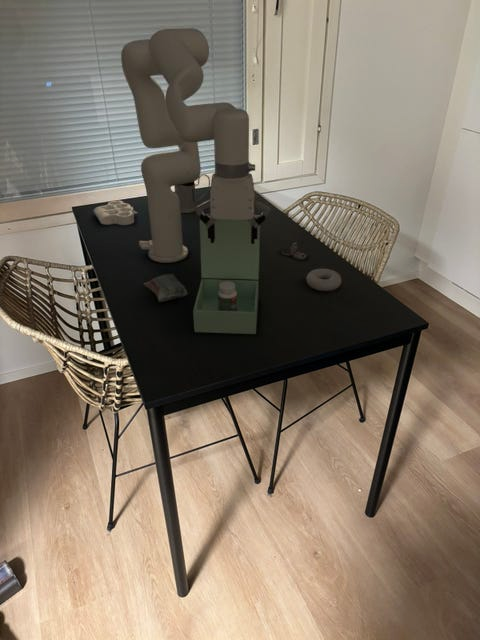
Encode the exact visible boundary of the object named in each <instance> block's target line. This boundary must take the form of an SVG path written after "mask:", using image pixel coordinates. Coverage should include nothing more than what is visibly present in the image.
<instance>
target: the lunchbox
mask: <svg viewBox="0 0 480 640" xmlns="http://www.w3.org/2000/svg"><path fill="white" fill-rule="evenodd" d="M225 281H229V282H233V283H234V284H235V291H236V292H237V311H218V310H219V309H218V292H219V284H220V283H222V282H225ZM259 284H260V283H259V280H250V279H217V278H201V280H200V284H199V287H198V291H197V295H196V299H195V302H194V306H193V310H192V318H193V331H194V333H210V334H211V333H212V334H213V333H214V334H238V335H239V334H241V335H242V334H243V335H256V334H257V326H258V325H257V324H258V307H259Z"/></svg>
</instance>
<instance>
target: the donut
mask: <svg viewBox="0 0 480 640" xmlns="http://www.w3.org/2000/svg"><path fill="white" fill-rule="evenodd" d="M305 280H306V283H307V285H308V286H309V287H310V288H311V289H313V290H316V291H319V292H331V291H335V290H337V289H338V288H339V287H341V284H342V276H341V275H340V274H339V272H337V271H335V270H333V269H329V268H315V269H313V270H311V271H309V272H308V273H307V275H306V278H305Z"/></svg>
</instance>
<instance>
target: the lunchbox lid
mask: <svg viewBox="0 0 480 640" xmlns="http://www.w3.org/2000/svg"><path fill="white" fill-rule="evenodd" d="M204 214H205V215H206V216H207V217H210V216H211V215H210V213H204ZM260 215H261V214H254V216H255V217H256V218H258V217H259V216H260ZM214 225H215V240H214V243H211V238H208V227H207V226H206V224H204V223H203V222H202V221H201V220H200V219H199V240H200V241H199V243H200V244H199V245H200V273H201V274H200V275H201V279H220V280H253V281H259V280H260V279H259V278H260V244H261V243H260V241H261V238H260V237H261V224H260V225H259V227H258V228H257V239H254V244H252V243H251V226H252V224H251V223H250V222H249V221H248V220H216V221H215V222H214Z"/></svg>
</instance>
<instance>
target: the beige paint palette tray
mask: <svg viewBox="0 0 480 640" xmlns="http://www.w3.org/2000/svg"><path fill="white" fill-rule="evenodd" d="M93 214H94V215H95V217H96V218H97V219H98V221H99V222H100V224H102V225H107V226H108V225H119V226H130V225H132V224H134V223H135V215H137V214H139V213H138V211H135V210H134V206H131V204H129V203H125V202H124V201H123V200H111V201H108V202H107V204H105V205H100V206H97V207H95V208H94V209H93Z"/></svg>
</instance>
